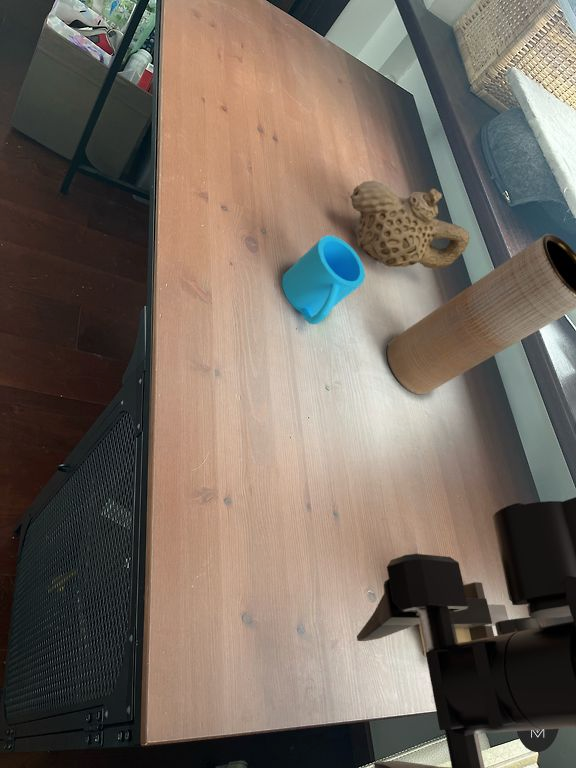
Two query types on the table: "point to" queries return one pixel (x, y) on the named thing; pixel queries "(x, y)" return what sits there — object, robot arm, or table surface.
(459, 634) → the rack
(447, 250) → the teapot
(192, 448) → the table surface
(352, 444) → the table surface
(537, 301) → the vase
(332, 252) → the mug
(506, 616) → the knife
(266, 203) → the table surface
